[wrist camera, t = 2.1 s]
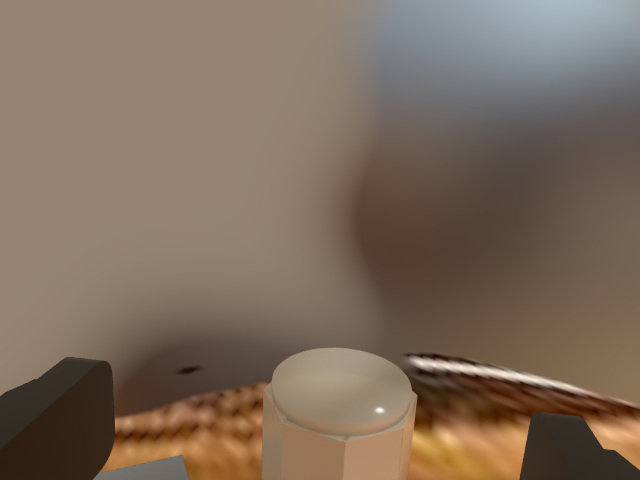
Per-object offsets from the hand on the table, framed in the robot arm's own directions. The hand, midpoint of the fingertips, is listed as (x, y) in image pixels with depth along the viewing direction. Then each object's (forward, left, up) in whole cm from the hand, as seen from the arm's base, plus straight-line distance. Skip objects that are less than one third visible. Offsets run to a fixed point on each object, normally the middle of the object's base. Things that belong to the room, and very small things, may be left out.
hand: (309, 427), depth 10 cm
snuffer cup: (-6, -10, -16) cm, 19 cm away
